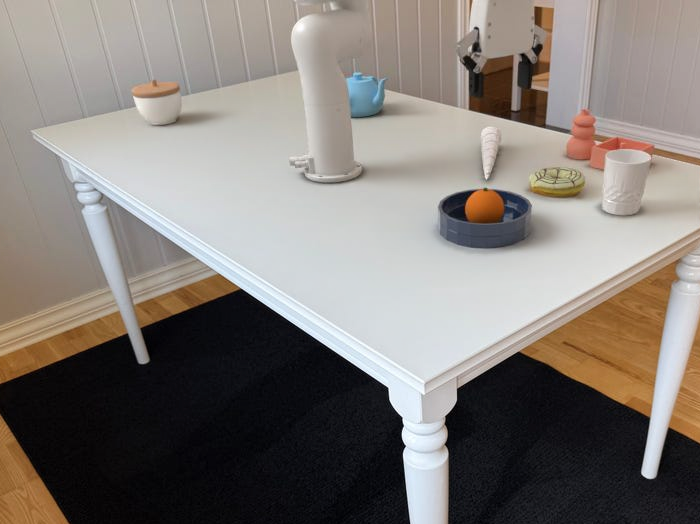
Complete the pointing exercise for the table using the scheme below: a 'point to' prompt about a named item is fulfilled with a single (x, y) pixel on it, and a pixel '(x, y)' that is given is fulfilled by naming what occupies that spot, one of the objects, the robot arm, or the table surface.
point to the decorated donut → (557, 182)
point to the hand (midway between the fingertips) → (500, 92)
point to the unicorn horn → (489, 148)
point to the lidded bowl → (158, 101)
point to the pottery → (587, 148)
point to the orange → (484, 207)
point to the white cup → (624, 180)
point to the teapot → (365, 95)
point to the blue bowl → (484, 235)
